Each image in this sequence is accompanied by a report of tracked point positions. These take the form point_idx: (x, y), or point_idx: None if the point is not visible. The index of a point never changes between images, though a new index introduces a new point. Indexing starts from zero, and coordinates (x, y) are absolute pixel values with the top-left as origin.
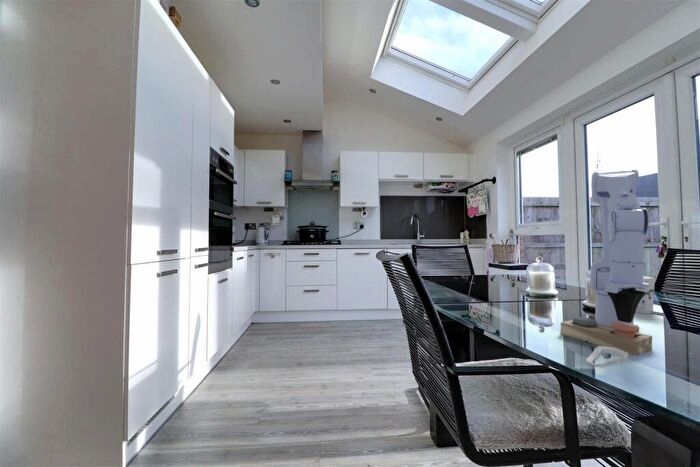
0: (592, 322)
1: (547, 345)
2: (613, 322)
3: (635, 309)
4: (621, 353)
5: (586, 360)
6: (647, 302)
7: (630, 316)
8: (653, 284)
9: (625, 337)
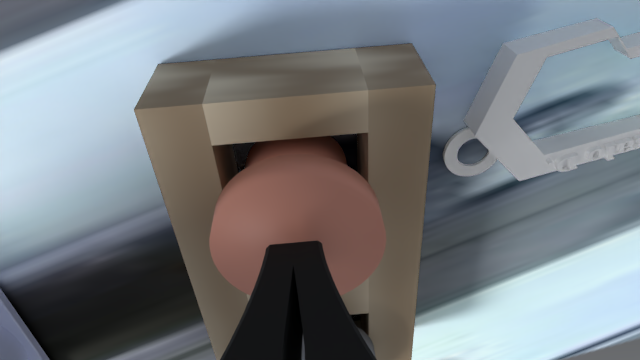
0: None
1: (634, 272)
2: None
3: (257, 334)
4: (531, 77)
5: None
6: None
7: (331, 279)
8: None
9: (390, 159)
